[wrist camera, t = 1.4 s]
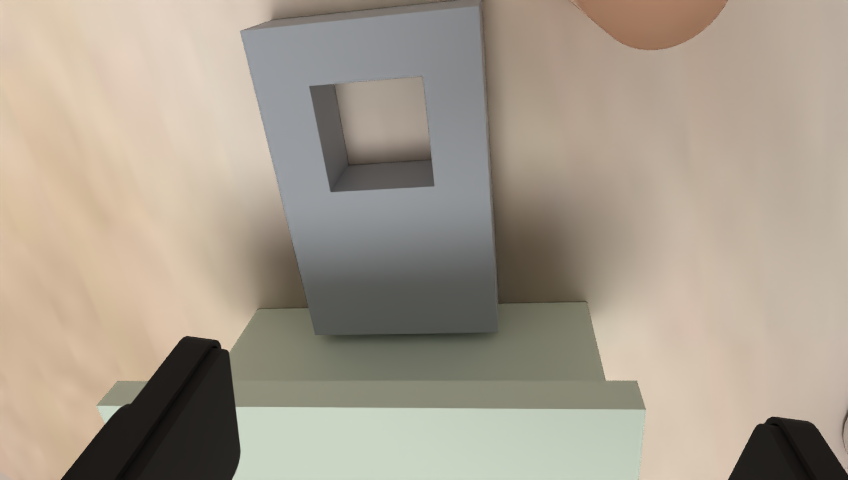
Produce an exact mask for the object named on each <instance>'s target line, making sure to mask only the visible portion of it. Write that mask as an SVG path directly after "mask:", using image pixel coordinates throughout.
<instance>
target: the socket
mask: <svg viewBox="0 0 848 480" xmlns="http://www.w3.org/2000/svg"><path fill="white" fill-rule="evenodd" d="M240 33H241V37H242V41H243V45H244V49H245V53H246V57H247V61H248V65H249V69H250V73H251V77H252V81H253V85H254V89H255V93H256V97H257V101H258V105H259V110H260V114H261V118H262V122H263V126H264V130H265V134H266V138H267V142H268V146H269V150H270V154H271V158H272V162H273V166H274V170H275V174H276V178H277V182H278V187H279V191H280V195H281V199H282V203H283V207H284V211H285V215H286V219H287V223H288V227H289V231H290V235H291V239H292V243H293V247H294V251H295V255H296V259H297V263H298V268H299V272H300V276H301V280H302V284H303V288H304V292H305V296H306V300H307V304H308V308H309V312H310V316H311V320H312V324H313V328H314V332H315V335H361V334H431V333H498V283H497V265H496V247H495V230H494V212H493V194H492V176H491V159H490V141H489V123H488V106H487V88H486V70H485V53H484V35H483V17H482V0H454V1H444V2H435V3H426V4H417V5H407V6H398V7H389V8H379V9H370V10H361V11H352V12H342V13H333V14H324V15H314V16H305V17H296V18H287V19H277V20H270V21H267V22H264V23H262V24H259V25H256V26H253V27H250V28H247V29H244V30H242V31H240ZM419 76H423V83H424V92H425V101H426V111H427V120H428V129H429V139H430V148H431V157H432V160H423V161H407V162H392V163H376V164H360V165H348V159H347V154H346V148H345V143H344V137H343V131H342V126H341V120H340V115H339V109H338V104H337V98H336V93H335V87H334V84H338V83H350V82H361V81H373V80H384V79H396V78H407V77H419Z"/></svg>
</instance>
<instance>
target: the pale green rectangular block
mask: <svg viewBox="0 0 848 480" xmlns="http://www.w3.org/2000/svg"><path fill="white" fill-rule="evenodd" d="M229 356H230V364H231V372H232V381H233V389H234V398H235V406H236V415H237V423H238V432H239V440H240V449H241V454H240V460H239V464H238V468H237V470H236V472H235V475H234V477H233V479H232V480H639V473H640V463H641V453H642V443H643V433H644V423H645V413H646V408H645V405H644V402H643V399H642V396H641V392H640V389H639V386H638V383H637V381H606V379H605V375H604V371H603V367H602V363H601V359H600V355H599V350H598V346H597V342H596V338H595V334H594V330H593V326H592V321H591V317H590V313H589V309H588V305H587V302H553V303H508V304H498V333H431V334H361V335H315V332H314V328H313V324H312V320H311V316H310V312H309V308H283V309H258V310H257V311H256V313H255V314H254V316H253V317H252V319H251V320H250V322H249V323H248V325H247V327H246V328H245V330H244V331H243V333H242V334H241V336H240V337H239V339H238V340H237V342H236V343H235V345H234V346H233V348H232V349H231V351H230V352H229ZM147 382H148V381H117V382H116V384H115V385H114V386H113V387H112V388H111V389H110V390H109V392H108V393H107V394H106V395H105V396H104V397H103V399H102V400H101V401H100V402H99V403H98V404H97V405H96V406H97V408H98V410H99V412H100V414H101V416H102V418H103V420H104V422H105V424H106V423H107V421H108V420H109V419H110V418H111V416H112V415H113V414H114V413H115V412H116V411H117V410H118V409H119V408H120V407H122V406H124V405H126V404H131V403H132V402H133V400H134V399H135V398H136V396H137V395H138V394H139V393H140V391H141V390H142V389H143V388H144V386H145V385H146V384H147Z"/></svg>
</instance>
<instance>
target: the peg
mask: <svg viewBox="0 0 848 480" xmlns="http://www.w3.org/2000/svg"><path fill="white" fill-rule="evenodd" d="M570 1H571V2H572V3H573V4H574V5H575V6H577V7H578V8H579V9H580V10H581V11H582V12H584V13H585V14H586V15H587V16H588V17H589V18H591V19H592V20H593V21H594V22H595V23H596V24H598V25H599V26H600V27H601V28H602V29H604V30H605V31H606V32H607V33H608V34H609V35H611V36H612V37H613V38H614V39H616V40H617V41H619V42H621V43H622V44H625V45H627V46H629V47H633V48H637V49H643V50H658V49H665V48H669V47H673V46H676V45H678V44H681V43H683V42H685V41H687V40H689V39H691V38H693V37H694V36H696V35H697V34H699V33H700V32H701V31H703V30H704V29H705V28H706V27H707V26H708V25H709V24H710V23H711V22H712V21H713V20H714V19H715V18H716V17H717V16H718V14H719V13H720V12H721V10H722V9H723V8H724V6H725V4H726V3H727V1H728V0H570Z"/></svg>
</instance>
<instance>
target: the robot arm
mask: <svg viewBox="0 0 848 480" xmlns="http://www.w3.org/2000/svg"><path fill="white" fill-rule="evenodd" d="M843 440H844V445H845V450H846V452H847V453H848V418H847V420H846V423H845V425H844V435H843ZM240 454H241V449H240V440H239V432H238V423H237V415H236V406H235V398H234V389H233V381H232V372H231V364H230V356H229V352H228V350H225V349H221V345H220V343H219V341H217V340H212V339H205V338H198V337H190V336H186V337H183V338H182V339H181V340H180V341H179V343H178V344H177V345H176V347H175V348H174V349H173V350H172V352H171V353H170V354H169V356H168V357H167V358H166V359H165V361H164V362H163V363H162V364H161V366H160V367H159V368H158V370H157V371H156V372H155V373H154V375H153V376H152V377H151V379H150V380H149V381H148V382H147V384H146V385H145V386H144V388H143V389H142V390H141V391H140V393H139V394H138V395H137V396H136V398H135V399H134V400H133V402H132V403H131V404H126V405H124V406H122V407H120V408H119V409H118V410H117V411H116V412H115V413H114V414H113V415H112V416H111V418H110V419H109V420H108V421H107V423H106V424H105V425H104V426H103V428H102V429H101V430H100V431H99V433H98V434H97V435H96V436H95V438H94V439H93V440H92V441H91V443H90V444H89V445H88V446H87V448H86V449H85V450H84V451H83V453H82V454H81V455H80V456H79V458H78V459H77V460H76V461H75V463H74V464H73V465H72V466H71V468H70V469H69V470H68V471H67V472H66V474H65V475H64V476H63V477H62V479H61V480H232V479H233V477H234V475H235V472H236V470H237V468H238V464H239V460H240ZM728 480H848V475H847V473H846V472H845V470H844V468H843V467H842V465H841V464H840V462H839V461H838V459H837V458H836V456H835V455H834V453H833V452H832V450H831V449H830V447H829V446H828V444H827V443H826V441H825V439H824V438H823V436H822V435H821V433H820V432H819V430H818V429H817V428H816V427H815V425H814V424H812V423H810V422H809V421H802V420H794V419H787V418H780V417H771V418H769V419H767V421H766V422H765V423H764V424H759V425H757V426H756V427H755V429H754V431H753V433H752V435H751V436H750V438H749V440H748V442H747V444H746V446H745V448H744V450H743V452H742V454H741V456H740V458H739V460H738V462H737V464H736V465H735V467H734V469H733V471H732V473H731V475H730V477H729V479H728Z"/></svg>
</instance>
